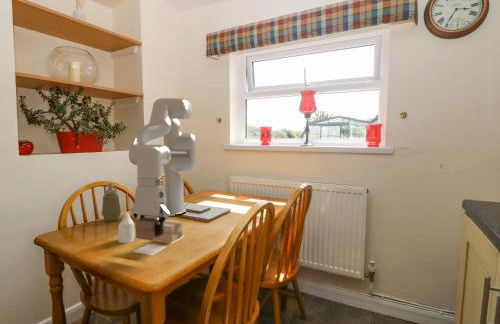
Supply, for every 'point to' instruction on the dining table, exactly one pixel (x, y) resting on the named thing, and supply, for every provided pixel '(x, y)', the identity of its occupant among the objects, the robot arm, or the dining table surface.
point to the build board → (153, 248)
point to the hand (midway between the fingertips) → (150, 233)
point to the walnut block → (146, 228)
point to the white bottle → (126, 230)
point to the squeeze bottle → (111, 205)
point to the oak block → (171, 231)
